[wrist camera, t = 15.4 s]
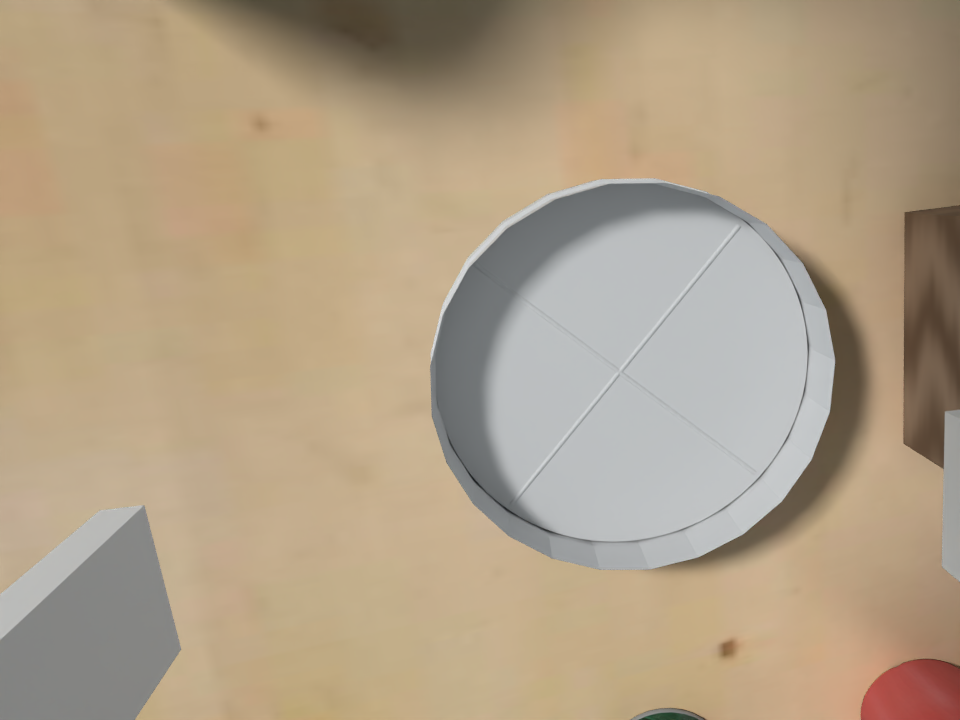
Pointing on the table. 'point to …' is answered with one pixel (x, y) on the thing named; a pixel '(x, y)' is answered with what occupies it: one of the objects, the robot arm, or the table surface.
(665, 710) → the canned tomato
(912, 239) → the walnut base
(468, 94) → the table surface
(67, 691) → the robot arm
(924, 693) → the flower pot
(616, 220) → the dish
